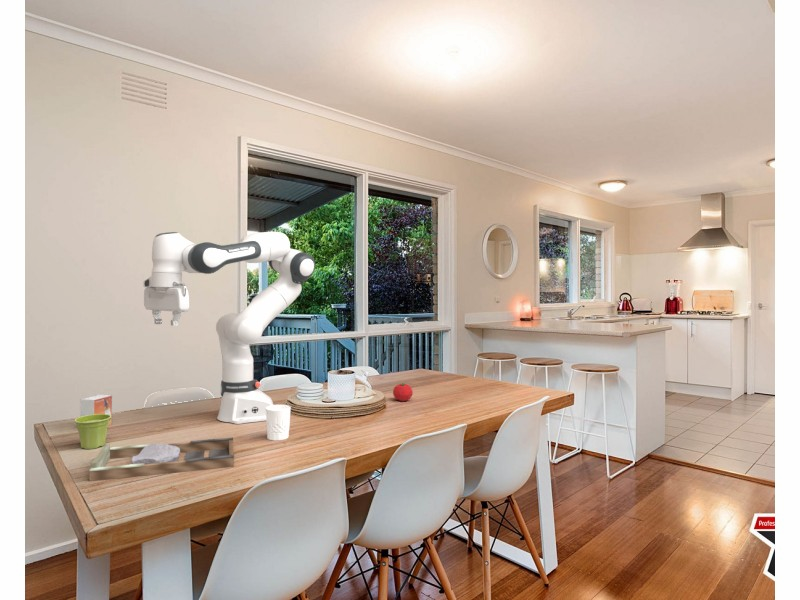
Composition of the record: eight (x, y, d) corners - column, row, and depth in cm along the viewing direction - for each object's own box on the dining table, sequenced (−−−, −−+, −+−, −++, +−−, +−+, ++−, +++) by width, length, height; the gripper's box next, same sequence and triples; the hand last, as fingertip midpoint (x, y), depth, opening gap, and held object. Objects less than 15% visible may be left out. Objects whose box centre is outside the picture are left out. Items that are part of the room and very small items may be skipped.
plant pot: (71, 453, 139) (71, 423, 139) (78, 443, 148) (78, 415, 148) (108, 449, 143) (108, 420, 143) (113, 440, 152) (113, 412, 151)
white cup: (294, 435, 160) (295, 405, 160) (281, 442, 152) (282, 411, 152) (274, 433, 162) (274, 403, 162) (260, 439, 155) (260, 408, 155)
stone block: (181, 462, 139) (146, 455, 138) (185, 446, 139) (150, 439, 138) (165, 479, 127) (126, 472, 126) (168, 462, 127) (130, 455, 126)
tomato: (391, 398, 218) (392, 380, 217) (411, 398, 219) (411, 380, 218) (393, 403, 209) (394, 384, 209) (413, 402, 210) (414, 384, 210)
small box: (93, 431, 160) (93, 400, 160) (79, 430, 161) (79, 398, 161) (112, 424, 168) (112, 394, 168) (98, 423, 169) (99, 394, 169)
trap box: (232, 446, 148) (233, 433, 148) (233, 466, 131) (233, 452, 131) (106, 457, 136) (106, 443, 136) (89, 481, 120) (89, 465, 119)
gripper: (195, 282, 152) (194, 326, 152) (159, 282, 163) (158, 322, 163) (176, 282, 146) (175, 327, 147) (140, 281, 158) (139, 323, 158)
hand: (166, 325), depth 155 cm, fingers open, 8 cm apart
